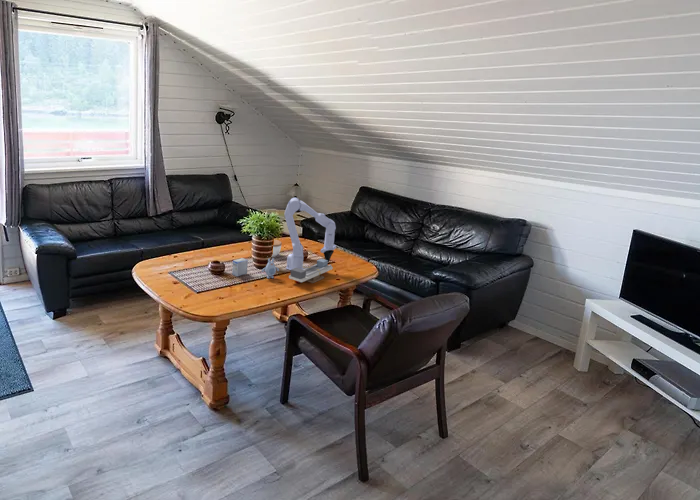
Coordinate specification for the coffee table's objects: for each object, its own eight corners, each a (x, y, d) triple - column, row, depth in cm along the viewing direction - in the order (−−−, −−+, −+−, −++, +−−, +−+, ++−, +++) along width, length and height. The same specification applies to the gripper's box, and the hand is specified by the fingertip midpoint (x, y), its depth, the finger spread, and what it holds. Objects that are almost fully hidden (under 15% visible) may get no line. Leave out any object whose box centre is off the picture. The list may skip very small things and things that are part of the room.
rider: (316, 266, 310) (317, 260, 309) (321, 264, 314) (321, 258, 313) (322, 268, 308) (323, 262, 307) (327, 266, 312) (327, 260, 311)
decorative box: (270, 259, 328) (271, 243, 325) (257, 254, 335) (258, 238, 332) (284, 256, 338) (285, 240, 334) (271, 251, 345) (272, 235, 341)
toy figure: (262, 280, 291) (263, 260, 288) (259, 276, 297) (260, 256, 293) (280, 279, 296) (281, 259, 293) (277, 275, 302) (278, 256, 298)
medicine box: (241, 271, 302) (242, 257, 299) (247, 273, 299) (248, 259, 297) (231, 274, 295) (232, 260, 293) (237, 276, 293) (237, 262, 290)
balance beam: (287, 282, 292) (288, 268, 290) (318, 269, 319) (319, 256, 316) (302, 287, 287) (303, 273, 284) (333, 274, 314) (334, 261, 311)
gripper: (328, 244, 303) (326, 265, 307) (341, 239, 315) (338, 260, 319) (318, 241, 306) (316, 262, 310) (331, 237, 319) (329, 257, 322)
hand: (327, 261), depth 315 cm, fingers closed
